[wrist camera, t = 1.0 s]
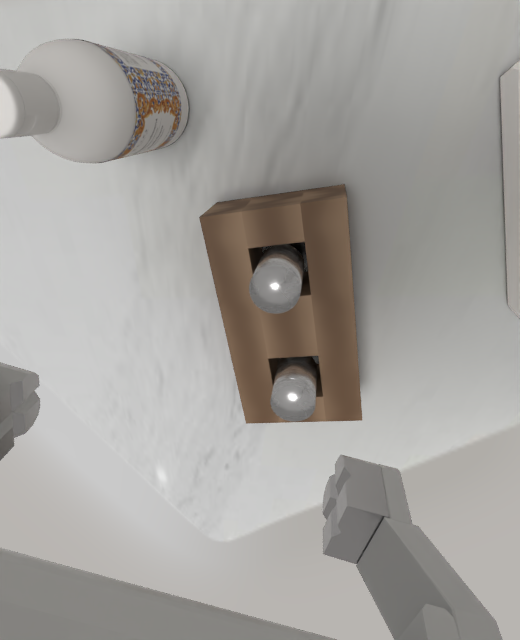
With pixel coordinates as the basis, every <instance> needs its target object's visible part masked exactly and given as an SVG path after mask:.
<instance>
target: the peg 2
mask: <svg viewBox="0 0 520 640" xmlns="http://www.w3.org/2000/svg"><path fill="white" fill-rule="evenodd" d="M316 382H317V365H316V362H315V361H314V359H313V358H312V357H311V356H303V357H286V358H280V360H279V362H278V365H277V370H276V375H275V380H274V385H273V390H272V395H271V400H270V404H271V408H272V410H273V412H274V413H275V414H276V415H277V416H279V417H280V418H282V419H284V420H287V421H292V422H297V421H302V420H305V419H307V418H309V417H310V416H311V415H312V414H313V412H314V410H315V403H316Z"/></svg>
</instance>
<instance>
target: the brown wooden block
mask: <svg viewBox="0 0 520 640" xmlns="http://www.w3.org/2000/svg"><path fill="white" fill-rule="evenodd" d="M199 218H200V222H201V227H202V231H203V235H204V240H205V244H206V249H207V253H208V257H209V262H210V266H211V271H212V275H213V279H214V284H215V288H216V293H217V297H218V301H219V306H220V310H221V314H222V319H223V323H224V328H225V332H226V336H227V341H228V345H229V350H230V354H231V358H232V363H233V367H234V372H235V376H236V380H237V385H238V389H239V394H240V398H241V402H242V407H243V411H244V416H245V420H246V423H279V422H292V421H287V420H284V419H282V418H280V417H279V416H277V415H276V414H275V413H274V412H273V410H272V408H271V404H270V400H271V395H272V390H273V385H274V380H275V375H276V370H277V365H278V362H279V360H280V358H286V357H303V356H318V358H319V364H316V365H317V382H316V403H315V410H314V412H313V414H312V415H311V416H310V417H309V418H307V419H305V420H302V421H297V422H317V421H356V420H362V410H361V396H360V381H359V367H358V352H357V338H356V323H355V308H354V294H353V279H352V265H351V250H350V236H349V221H348V207H347V195H346V190H345V185H344V184H343V185H336V186H329V187H322V188H315V189H308V190H301V191H294V192H287V193H280V194H273V195H266V196H259V197H252V198H245V199H238V200H231V201H224V202H217V203H216V204H215V205H213V206H212V207H211V208H210V209H209V210H208V211H206V212H205V213H204V214H203V215H202V216H200V217H199ZM298 242H305V248H306V257H307V265H308V272H304V274H303V280H302V286H301V293H300V297H299V300H298V302H297V303H296V305H295V306H294V307H293V308H292V309H290V310H289V311H287V312H284V313H279V314H273V313H268V312H265V311H263V310H261V309H260V308H258V307H257V306H256V305H255V304H254V302H253V301H252V299H251V297H250V293H249V284H250V281H251V278H252V276H253V274H254V272H255V270H256V267H257V265H258V263H259V261H260V259H261V257H262V254H263V252H262V247H264V246H273V245H281V244H290V243H298Z"/></svg>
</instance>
